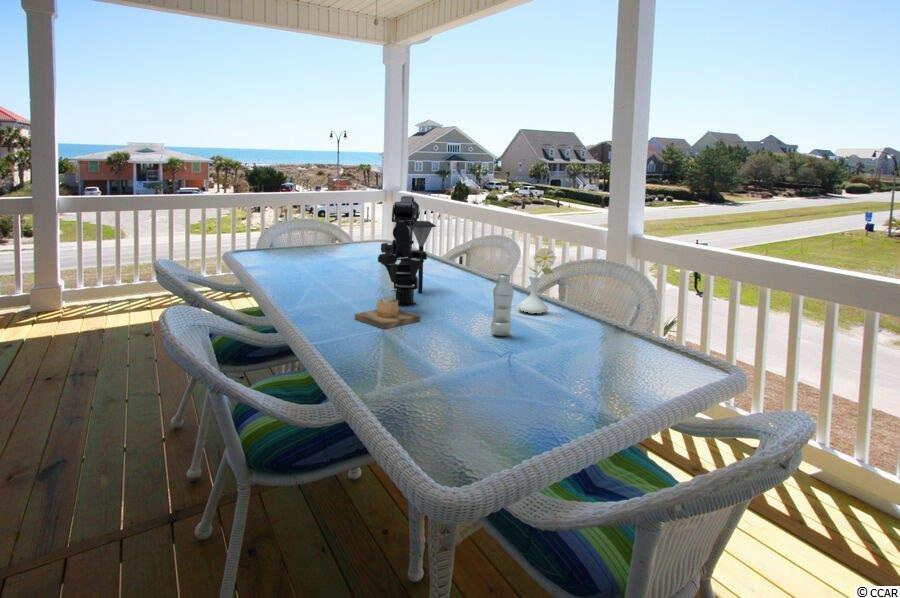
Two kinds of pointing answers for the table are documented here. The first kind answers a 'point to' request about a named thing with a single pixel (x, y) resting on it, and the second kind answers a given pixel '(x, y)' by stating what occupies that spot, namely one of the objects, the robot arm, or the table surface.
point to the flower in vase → (533, 302)
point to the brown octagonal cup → (387, 308)
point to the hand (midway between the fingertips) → (402, 280)
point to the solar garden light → (422, 244)
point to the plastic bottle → (502, 306)
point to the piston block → (387, 318)
